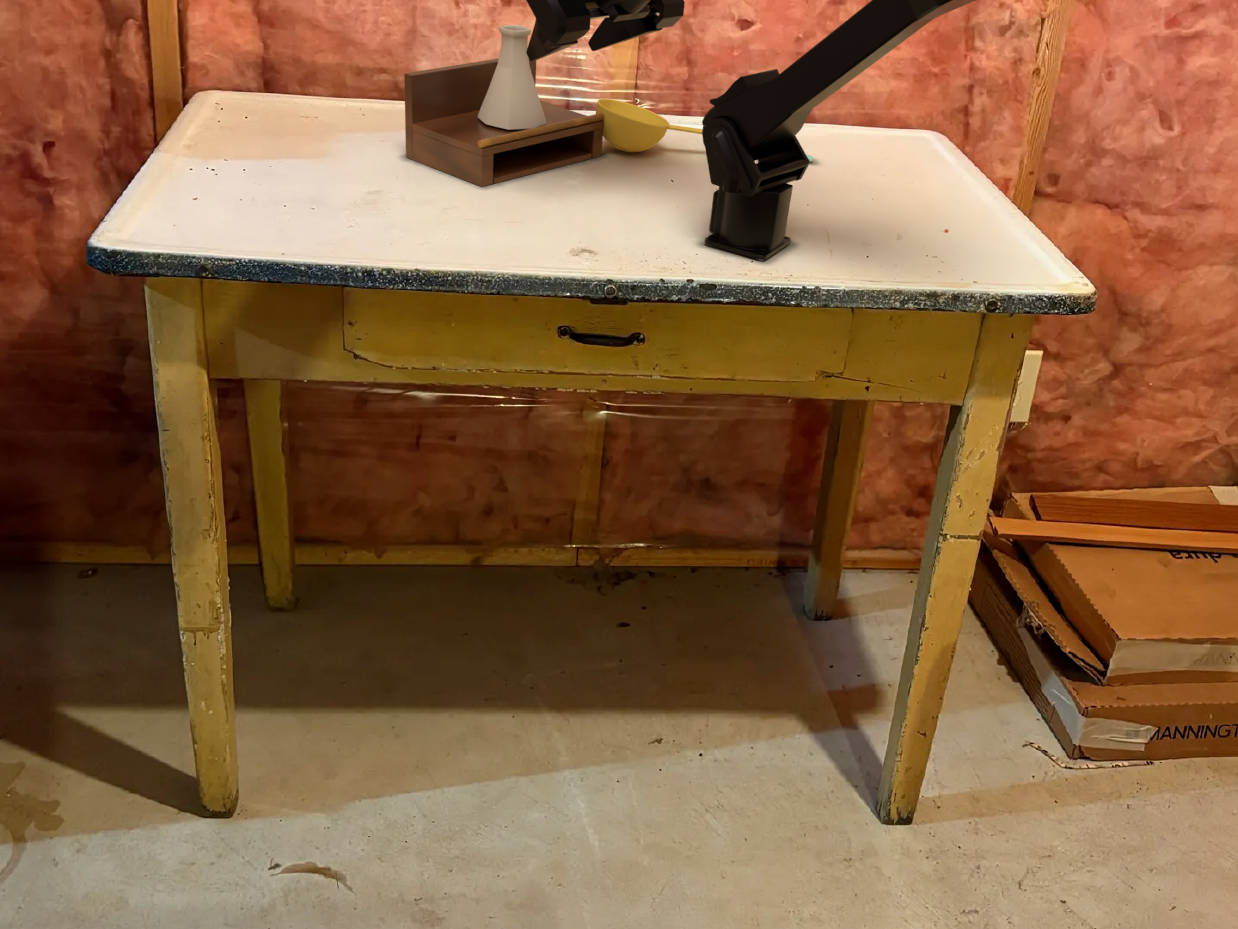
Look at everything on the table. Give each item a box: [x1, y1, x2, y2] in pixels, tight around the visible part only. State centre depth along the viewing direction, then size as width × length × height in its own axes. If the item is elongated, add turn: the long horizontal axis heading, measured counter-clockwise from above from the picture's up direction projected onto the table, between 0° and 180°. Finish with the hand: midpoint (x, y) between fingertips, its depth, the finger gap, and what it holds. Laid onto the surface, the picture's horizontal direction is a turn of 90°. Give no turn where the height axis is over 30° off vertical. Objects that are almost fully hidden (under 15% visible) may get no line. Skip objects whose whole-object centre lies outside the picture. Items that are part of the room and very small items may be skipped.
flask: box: [478, 24, 547, 130], centre depth 124 cm, size 7×7×10 cm
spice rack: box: [403, 57, 604, 188], centre depth 126 cm, size 12×19×9 cm, turn 139°
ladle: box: [595, 98, 814, 163], centre depth 135 cm, size 9×26×6 cm, turn 93°
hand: (561, 51), depth 118 cm, fingers open, 9 cm apart
